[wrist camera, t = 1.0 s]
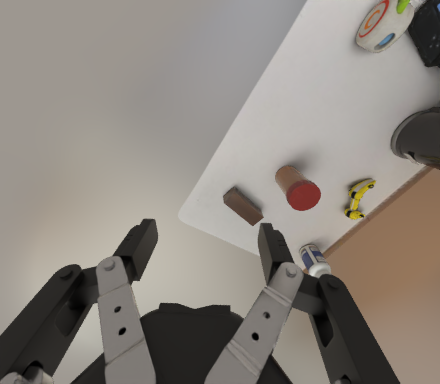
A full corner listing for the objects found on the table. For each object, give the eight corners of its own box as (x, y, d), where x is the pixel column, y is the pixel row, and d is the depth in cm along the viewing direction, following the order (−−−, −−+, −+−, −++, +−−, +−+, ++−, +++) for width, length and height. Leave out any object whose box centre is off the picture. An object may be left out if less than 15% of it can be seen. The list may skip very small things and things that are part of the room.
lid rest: (233, 186, 43) (234, 192, 40) (261, 210, 46) (263, 217, 43) (223, 196, 44) (223, 202, 41) (250, 218, 47) (252, 226, 45)
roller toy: (432, 3, 23) (392, 56, 27) (397, 11, 28) (367, 55, 32) (406, -14, 23) (368, 43, 26) (375, -2, 28) (346, 44, 31)
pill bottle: (302, 259, 55) (318, 290, 46) (296, 249, 53) (311, 278, 44) (320, 252, 53) (339, 282, 45) (313, 241, 51) (333, 270, 43)
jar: (288, 161, 40) (307, 178, 32) (302, 175, 42) (323, 196, 33) (270, 176, 42) (284, 197, 33) (284, 190, 43) (300, 213, 35)
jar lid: (305, 173, 32) (309, 177, 31) (322, 192, 34) (327, 197, 33) (279, 193, 34) (282, 198, 33) (297, 210, 36) (300, 216, 35)
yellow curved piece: (345, 183, 42) (360, 189, 39) (363, 176, 43) (380, 181, 40) (337, 218, 46) (350, 225, 43) (354, 210, 48) (368, 217, 45)
